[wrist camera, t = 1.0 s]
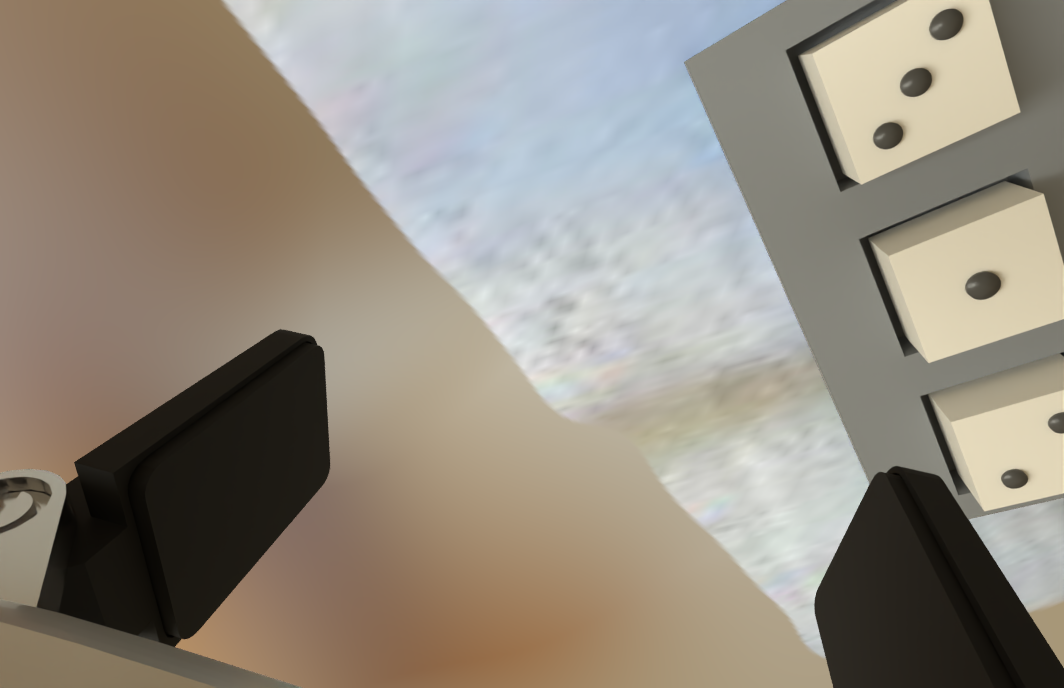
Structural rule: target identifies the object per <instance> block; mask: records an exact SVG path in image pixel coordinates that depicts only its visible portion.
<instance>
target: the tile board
mask: <svg viewBox="0 0 1064 688" xmlns="http://www.w3.org/2000/svg"><path fill="white" fill-rule="evenodd" d="M895 1H897V0H787V1H785V2H783V3H782V4H780V5H778V6H777V7H775V8H773V9H772V10H770V11H768V12H767V13H765V14H763V15H762V16H760V17H758V18H757V19H755V20H753V21H752V22H750V23H748V24H747V25H745V26H743V27H742V28H740V29H738V30H737V31H735V32H733V33H732V34H730V35H728V36H727V37H725V38H723V39H722V40H720V41H718V42H717V43H715V44H713V45H712V46H710V47H708V48H707V49H705V50H703V51H702V52H700V53H698V54H697V55H695V56H693V57H692V58H690V59H688V60H687V61H685V62H684V64H685V66H686V68H687V70H688V73H689V75H690V77H691V79H692V82H693V84H694V86H695V88H696V91H697V93H698V95H699V98H700V100H701V102H702V104H703V107H704V109H705V111H706V113H707V116H708V118H709V120H710V123H711V125H712V127H713V129H714V132H715V134H716V136H717V138H718V141H719V143H720V145H721V148H722V150H723V152H724V154H725V157H726V159H727V161H728V163H729V166H730V168H731V170H732V173H733V175H734V177H735V179H736V182H737V184H738V186H739V188H740V191H741V193H742V195H743V197H744V200H745V202H746V204H747V207H748V209H749V211H750V213H751V216H752V218H753V220H754V222H755V225H756V227H757V229H758V232H759V234H760V236H761V238H762V241H763V243H764V245H765V247H766V250H767V252H768V254H769V257H770V259H771V261H772V263H773V266H774V268H775V270H776V272H777V275H778V277H779V279H780V282H781V284H782V286H783V288H784V291H785V293H786V295H787V297H788V300H789V302H790V304H791V306H792V309H793V311H794V313H795V316H796V318H797V320H798V322H799V325H800V327H801V329H802V331H803V334H804V336H805V338H806V341H807V343H808V345H809V347H810V350H811V352H812V354H813V356H814V359H815V361H816V363H817V366H818V368H819V370H820V372H821V375H822V377H823V379H824V381H825V384H826V386H827V388H828V391H829V393H830V395H831V397H832V400H833V402H834V404H835V406H836V409H837V411H838V413H839V415H840V418H841V420H842V422H843V425H844V427H845V429H846V431H847V434H848V436H849V438H850V440H851V443H852V445H853V447H854V450H855V452H856V454H857V456H858V459H859V461H860V463H861V465H862V468H863V470H864V472H865V475H866V477H867V479H868V481H869V484H870V483H871V481H872V479H873V477H874V476H875V475H876V474H877V473H878V472H884V473H887V471H888V470H889V469H890V468H892V467H894V466H900V467H905V468H909V469H914V470H918V471H923V472H927V473H932V474H935V475H938V476H940V477H941V479H942V480H943V481H944V482H945V484H946V486H947V487H948V489H949V490H950V492H951V493H952V495H953V496H954V498H955V500H956V501H957V503H958V504H959V506H960V507H961V509H962V510H963V512H964V514H965V515H966V517H967V518H968V519H971V518H976V517H980V516H985V515H989V514H994V513H998V512H1003V511H1007V510H1011V509H1016V508H1020V507H1025V506H1029V505H1034V504H1038V503H1042V502H1047V501H1051V500H1056V499H1060V498H1064V493H1063V494H1059V495H1054V496H1050V497H1045V498H1041V499H1037V500H1032V501H1028V502H1024V503H1019V504H1015V505H1010V506H1006V507H1002V508H997V509H993V510H988V511H984V510H983V509H982V507H981V506H980V504H979V503H978V502H977V500H976V499H975V497H974V496H973V495H972V493H971V492H970V490H969V489H968V487H967V486H966V485H965V483H964V482H963V480H962V479H961V477H960V476H959V475H958V472H957V470H956V467H955V464H954V462H953V459H952V457H951V454H950V451H949V449H948V446H947V444H946V441H945V438H944V436H943V433H942V431H941V428H940V425H939V423H938V420H937V418H936V415H935V412H934V410H933V407H932V405H931V402H930V399H929V397H928V394H929V393H932V392H935V391H938V390H942V389H945V388H948V387H951V386H955V385H958V384H961V383H964V382H968V381H971V380H974V379H977V378H981V377H984V376H987V375H990V374H994V373H997V372H1000V371H1003V370H1007V369H1010V368H1013V367H1016V366H1020V365H1023V364H1026V363H1029V362H1033V361H1036V360H1039V359H1042V358H1046V357H1049V356H1052V355H1055V354H1059V353H1060V354H1061V355H1062V356H1064V319H1062V320H1059V321H1056V322H1053V323H1050V324H1047V325H1044V326H1041V327H1038V328H1035V329H1032V330H1029V331H1026V332H1023V333H1019V334H1016V335H1013V336H1010V337H1007V338H1004V339H1001V340H998V341H995V342H992V343H989V344H986V345H983V346H980V347H977V348H974V349H970V350H967V351H964V352H961V353H958V354H955V355H952V356H949V357H946V358H943V359H940V360H937V361H934V362H931V363H928V362H927V361H926V360H925V358H924V357H923V356H922V355H921V354H920V353H919V352H918V350H917V349H916V348H915V347H914V346H913V345H912V343H911V342H910V341H909V340H908V339H907V338H906V337H905V334H904V332H903V329H902V326H901V324H900V321H899V318H898V316H897V313H896V311H895V308H894V305H893V303H892V300H891V298H890V295H889V292H888V290H887V287H886V285H885V282H884V279H883V277H882V274H881V272H880V269H879V266H878V264H877V261H876V259H875V256H874V253H873V251H872V248H871V246H870V243H869V240H868V238H870V237H872V236H874V235H877V234H879V233H882V232H884V231H886V230H889V229H891V228H894V227H896V226H898V225H901V224H903V223H905V222H908V221H910V220H913V219H915V218H917V217H920V216H922V215H925V214H927V213H929V212H932V211H934V210H937V209H939V208H941V207H944V206H946V205H948V204H951V203H953V202H956V201H958V200H960V199H963V198H965V197H968V196H970V195H972V194H975V193H977V192H980V191H982V190H984V189H987V188H989V187H992V186H994V185H996V184H999V183H1001V182H1003V181H1007V182H1010V183H1013V184H1016V185H1019V186H1022V187H1025V188H1028V189H1031V190H1034V191H1037V192H1040V193H1043V194H1044V197H1045V200H1046V204H1047V207H1048V211H1049V214H1050V218H1051V221H1052V225H1053V228H1054V232H1055V236H1056V239H1057V243H1058V246H1059V250H1060V253H1061V257H1062V260H1063V264H1064V0H989V2H990V6H991V9H992V13H993V16H994V20H995V24H996V27H997V31H998V34H999V38H1000V41H1001V45H1002V48H1003V52H1004V55H1005V59H1006V62H1007V66H1008V69H1009V73H1010V77H1011V80H1012V84H1013V87H1014V91H1015V94H1016V98H1017V101H1018V105H1019V108H1020V113H1018V114H1016V115H1014V116H1011V117H1009V118H1007V119H1005V120H1003V121H1000V122H998V123H996V124H994V125H992V126H989V127H987V128H985V129H983V130H981V131H978V132H976V133H974V134H972V135H970V136H967V137H965V138H963V139H961V140H959V141H956V142H954V143H952V144H950V145H948V146H945V147H943V148H941V149H939V150H937V151H934V152H932V153H930V154H928V155H925V156H923V157H921V158H919V159H917V160H914V161H912V162H910V163H908V164H906V165H903V166H901V167H899V168H897V169H895V170H892V171H890V172H888V173H886V174H884V175H881V176H879V177H877V178H875V179H873V180H870V181H868V182H866V183H864V184H862V185H861V184H860V183H858V182H856V181H855V180H853V179H851V178H850V177H848V176H846V175H845V174H843V173H842V170H841V167H840V165H839V162H838V159H837V157H836V154H835V152H834V149H833V146H832V144H831V141H830V139H829V136H828V133H827V131H826V128H825V126H824V123H823V120H822V118H821V115H820V113H819V110H818V107H817V105H816V102H815V100H814V97H813V94H812V92H811V89H810V87H809V84H808V81H807V79H806V76H805V73H804V71H803V68H802V66H801V63H800V60H799V58H798V55H800V54H802V53H804V52H805V51H807V50H809V49H811V48H812V47H814V46H816V45H818V44H820V43H821V42H823V41H825V40H827V39H829V38H830V37H832V36H834V35H836V34H838V33H839V32H841V31H843V30H845V29H846V28H848V27H850V26H852V25H854V24H855V23H857V22H859V21H861V20H863V19H864V18H866V17H868V16H870V15H872V14H873V13H875V12H877V11H879V10H880V9H882V8H884V7H886V6H888V5H889V4H891V3H893V2H895Z"/></svg>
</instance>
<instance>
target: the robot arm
mask: <svg viewBox="0 0 1064 688" xmlns="http://www.w3.org/2000/svg"><path fill="white" fill-rule="evenodd" d="M325 380H326V379H325V361H324V351H323V349H322V347H320V346H318V345H317V343H316V341H315V339H314V338H313V337H312V336H310V335H305V334H301V333H296V332H292V331H287V330H281V329H280V330H278V331H276V332H274V333H272V334H271V335H269V336H267V337H266V338H264V339H263V340H261V341H260V342H259V343H257V344H255V345H254V346H252V347H251V348H249V349H247V350H246V351H244V352H243V353H241V354H240V355H238V356H237V357H235V358H234V359H232V360H231V361H229V362H228V363H226V364H225V365H223V366H221V367H220V368H218V369H217V370H215V371H214V372H212V373H211V374H209V375H208V376H206V377H205V378H203V379H202V380H200V381H198V382H197V383H195V384H194V385H192V386H191V387H189V388H188V389H186V390H185V391H183V392H181V393H180V394H179V395H177V396H175V397H174V398H172V399H171V400H169V401H168V402H166V403H165V404H163V405H161V406H160V407H158V408H157V409H155V410H154V411H152V412H151V413H149V414H148V415H146V416H145V417H143V418H142V419H140V420H138V421H137V422H135V423H134V424H132V425H131V426H129V427H128V428H126V429H125V430H123V431H122V432H120V433H118V434H117V435H115V436H114V437H112V438H111V439H109V440H108V441H106V442H105V443H103V444H102V445H100V446H98V447H97V448H95V449H94V450H92V451H91V452H89V453H88V454H86V455H85V456H83V457H82V458H80V459H78V460H77V461H75V462H74V463H75V467H76V470H77V473H78V477H76V478H75V479H74V480H72V481H70V482H69V483H68V484H66V483H65V482H64V481H63V480H62V479H61V477H60V476H59V475H56V474H54V473H51V472H49V471H45V470H32V469H26V470H14V471H7V472H2V473H0V688H302V687H299V686H296V685H293V684H289V683H286V682H283V681H280V680H277V679H274V678H270V677H267V676H264V675H261V674H258V673H255V672H251V671H248V670H245V669H242V668H239V667H236V666H233V665H229V664H226V663H223V662H220V661H216V660H214V659H210V658H207V657H204V656H201V655H198V654H195V653H192V652H188V651H185V650H182V649H179V648H176V647H175V646H176V645H177V643H179V641H180V640H181V639H188V638H190V637H192V636H193V635H194V634H195V633H196V632H197V631H198V630H199V629H200V628H201V627H202V626H203V625H204V624H205V622H206V621H207V620H208V619H209V618H210V616H211V615H212V614H213V613H214V612H215V611H216V609H217V608H218V607H219V606H220V605H221V604H222V602H223V601H224V600H225V599H226V598H227V597H228V595H229V594H230V593H231V592H232V591H233V590H234V588H235V587H236V586H237V585H238V583H240V581H241V580H242V579H243V578H244V577H245V576H246V574H247V573H248V572H249V571H250V570H251V569H252V567H253V566H254V565H255V564H256V563H257V562H258V560H259V559H260V558H261V557H262V555H264V553H265V552H266V551H267V550H268V549H269V547H270V546H271V545H272V544H273V543H274V541H275V540H276V539H277V538H278V537H279V536H280V535H281V533H282V532H283V531H284V530H285V529H286V528H287V526H288V525H289V524H290V523H291V522H292V521H293V519H294V518H295V517H296V516H297V515H298V514H299V512H300V511H301V510H302V509H303V508H304V507H305V505H306V504H307V503H308V502H309V501H310V499H311V498H312V497H313V496H314V495H315V494H316V492H317V491H318V490H319V489H320V488H321V487H322V485H323V484H324V483H325V481H326V479H327V477H328V474H329V469H330V452H329V434H328V416H327V398H326V381H325ZM814 606H815V616H816V620H817V624H818V628H819V632H820V636H821V640H822V644H823V648H824V652H825V656H826V660H827V664H828V668H829V671H830V676H831V680H832V683H833V688H1064V668H1063V666H1062V665H1061V663H1060V661H1059V660H1058V659H1057V657H1056V655H1055V654H1054V652H1053V651H1052V649H1051V647H1050V646H1049V644H1048V643H1047V641H1046V640H1045V638H1044V637H1043V635H1042V634H1041V632H1040V630H1039V629H1038V627H1037V626H1036V624H1035V623H1034V621H1033V619H1032V618H1031V617H1030V615H1029V613H1028V612H1027V610H1026V609H1025V607H1024V605H1023V604H1022V602H1021V601H1020V599H1019V598H1018V596H1017V595H1016V593H1015V591H1014V590H1013V588H1012V587H1011V585H1010V584H1009V582H1008V581H1007V579H1006V577H1005V576H1004V574H1003V573H1002V571H1001V570H1000V568H999V567H998V565H997V563H996V562H995V560H994V559H993V557H992V556H991V554H990V553H989V551H988V549H987V548H986V546H985V545H984V543H983V542H982V540H981V539H980V537H979V535H978V534H977V532H976V531H975V529H974V528H973V526H972V524H971V523H970V521H969V520H968V518H967V517H966V515H965V514H964V512H963V510H962V509H961V507H960V506H959V504H958V503H957V501H956V500H955V498H954V496H953V495H952V493H951V492H950V490H949V489H948V487H947V486H946V484H945V482H944V481H943V480H942V479H941V477H940V476H938V475H935V474H932V473H927V472H923V471H918V470H914V469H909V468H905V467H900V466H894V467H892V468H890V469H889V470H888V471H887V473H884V472H878V473H877V474H876V475H875V476H874V477H873V479H872V481H871V483H870V485H869V487H868V489H867V491H866V493H865V495H864V497H863V499H862V501H861V503H860V505H859V507H858V509H857V511H856V513H855V515H854V517H853V519H852V521H851V523H850V525H849V527H848V529H847V531H846V533H845V535H844V537H843V539H842V541H841V543H840V545H839V547H838V549H837V551H836V553H835V555H834V557H833V559H832V561H831V563H830V565H829V567H828V569H827V571H826V574H825V576H824V578H823V580H822V582H821V584H820V586H819V588H818V590H817V593H816V597H815V605H814Z"/></svg>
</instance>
